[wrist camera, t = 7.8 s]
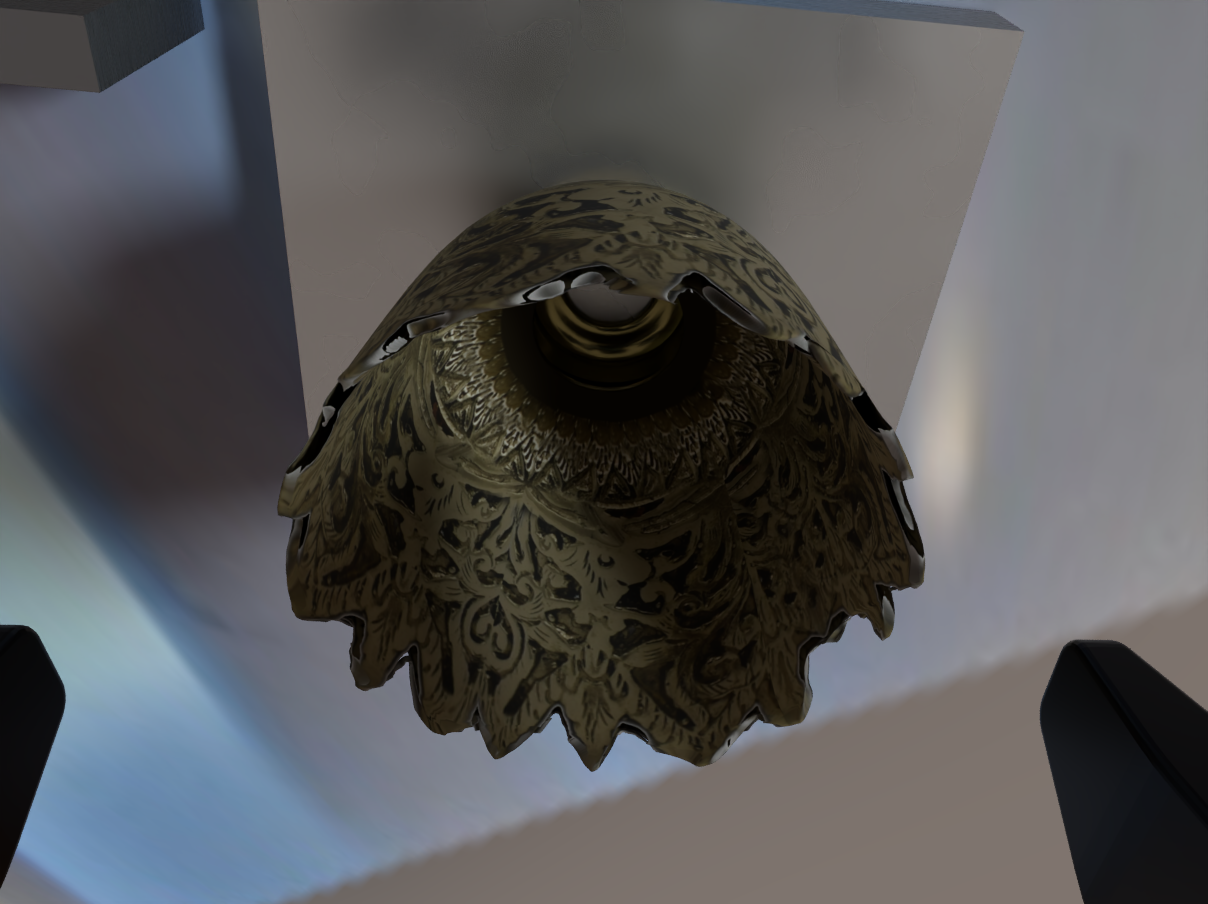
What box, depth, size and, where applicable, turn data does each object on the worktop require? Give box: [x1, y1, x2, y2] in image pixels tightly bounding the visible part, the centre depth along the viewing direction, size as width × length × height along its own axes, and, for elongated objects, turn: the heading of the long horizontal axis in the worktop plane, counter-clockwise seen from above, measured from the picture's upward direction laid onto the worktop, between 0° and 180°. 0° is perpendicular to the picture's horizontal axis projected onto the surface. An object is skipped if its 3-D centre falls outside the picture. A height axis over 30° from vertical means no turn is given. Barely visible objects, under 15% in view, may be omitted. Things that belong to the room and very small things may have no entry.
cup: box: [277, 180, 925, 772], centre depth 14 cm, size 8×7×8 cm
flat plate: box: [257, 0, 1024, 438], centre depth 18 cm, size 12×10×2 cm
